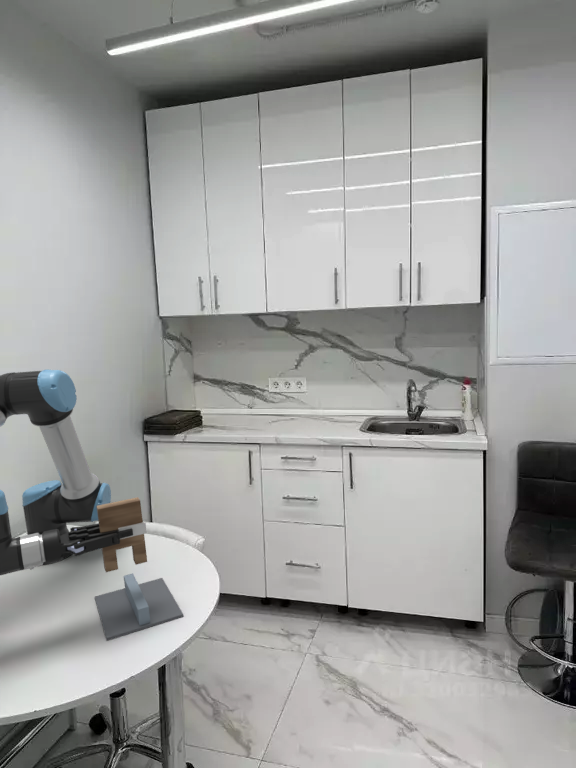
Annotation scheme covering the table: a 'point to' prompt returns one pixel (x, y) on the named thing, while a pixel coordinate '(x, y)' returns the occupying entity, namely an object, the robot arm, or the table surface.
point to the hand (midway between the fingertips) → (144, 525)
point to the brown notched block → (115, 518)
